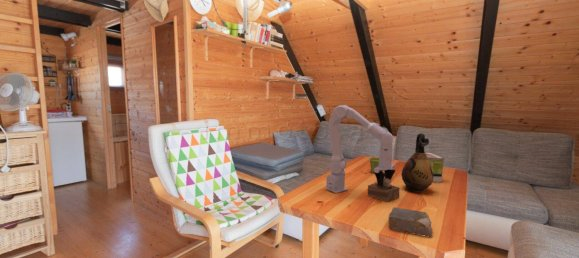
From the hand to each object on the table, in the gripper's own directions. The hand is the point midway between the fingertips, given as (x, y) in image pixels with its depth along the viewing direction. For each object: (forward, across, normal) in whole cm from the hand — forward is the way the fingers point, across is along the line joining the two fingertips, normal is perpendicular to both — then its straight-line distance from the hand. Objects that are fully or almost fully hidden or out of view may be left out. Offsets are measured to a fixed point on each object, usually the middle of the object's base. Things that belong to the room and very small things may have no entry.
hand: (383, 184), depth 135 cm
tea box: (+6, +49, +2) cm, 49 cm away
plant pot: (+6, +34, +28) cm, 44 cm away
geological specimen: (+6, -20, -25) cm, 32 cm away
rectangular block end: (+4, 0, 0) cm, 4 cm away
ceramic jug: (+6, +24, -4) cm, 25 cm away
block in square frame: (+6, 0, 0) cm, 6 cm away
